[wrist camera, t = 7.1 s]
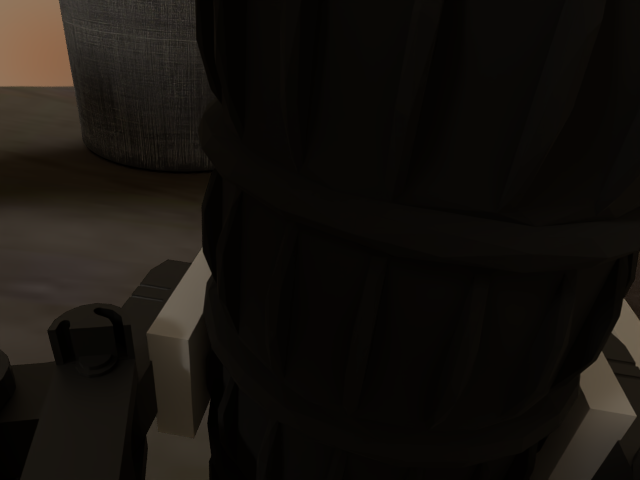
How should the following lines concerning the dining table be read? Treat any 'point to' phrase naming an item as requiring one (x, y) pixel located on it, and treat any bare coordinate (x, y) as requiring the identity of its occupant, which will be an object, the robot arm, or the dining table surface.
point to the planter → (138, 81)
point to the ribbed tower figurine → (412, 229)
